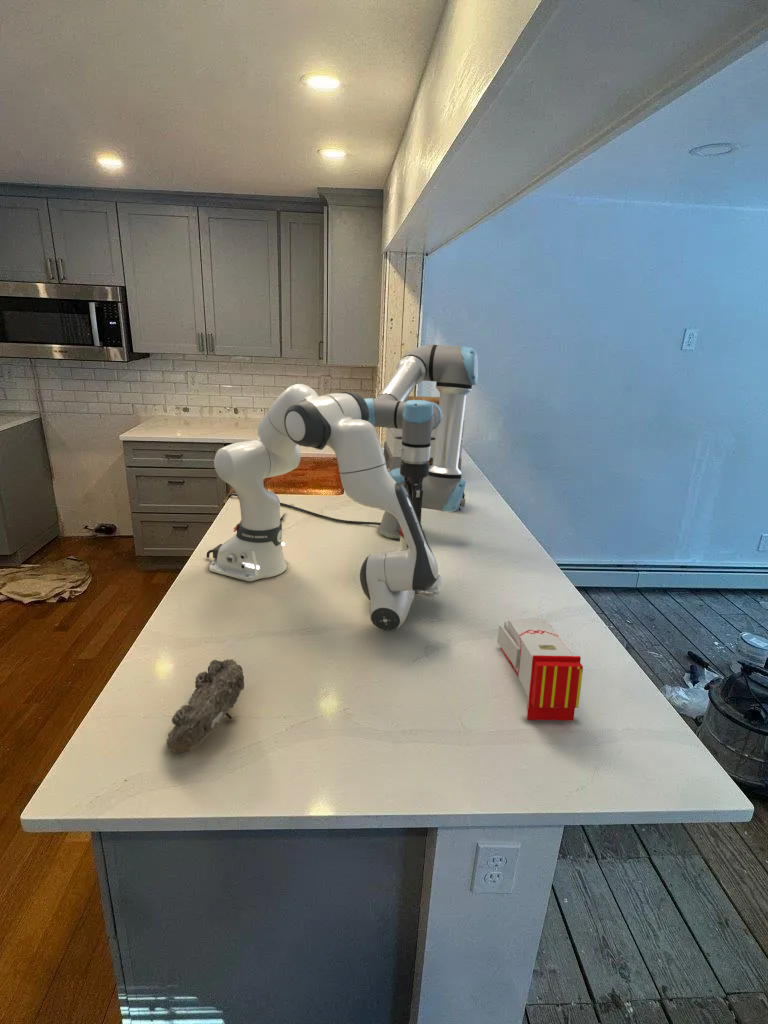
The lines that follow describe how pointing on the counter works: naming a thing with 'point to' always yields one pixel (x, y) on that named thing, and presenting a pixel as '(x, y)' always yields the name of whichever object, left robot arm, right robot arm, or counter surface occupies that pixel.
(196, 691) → the fossil
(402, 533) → the lid
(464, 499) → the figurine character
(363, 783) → the counter surface
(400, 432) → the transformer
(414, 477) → the right robot arm
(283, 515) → the feather
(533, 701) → the toy
